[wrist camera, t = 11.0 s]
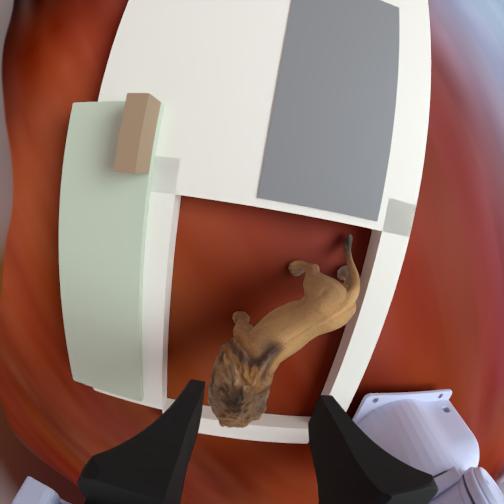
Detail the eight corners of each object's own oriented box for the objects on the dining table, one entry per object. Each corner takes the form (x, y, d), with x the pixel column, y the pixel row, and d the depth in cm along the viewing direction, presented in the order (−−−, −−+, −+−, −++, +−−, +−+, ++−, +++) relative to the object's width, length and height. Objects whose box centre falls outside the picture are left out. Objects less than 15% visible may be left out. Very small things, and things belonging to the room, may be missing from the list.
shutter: (164, 104, 15) (149, 93, 12) (143, 396, 19) (133, 419, 17) (78, 104, 14) (55, 96, 12) (76, 375, 19) (62, 394, 17)
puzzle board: (418, 7, 13) (428, -2, 12) (326, 431, 22) (329, 444, 21) (156, -38, 13) (151, -49, 11) (103, 395, 22) (96, 406, 20)
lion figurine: (250, 374, 21) (249, 450, 14) (202, 342, 20) (181, 415, 13) (369, 253, 18) (426, 296, 11) (322, 208, 18) (366, 230, 11)
